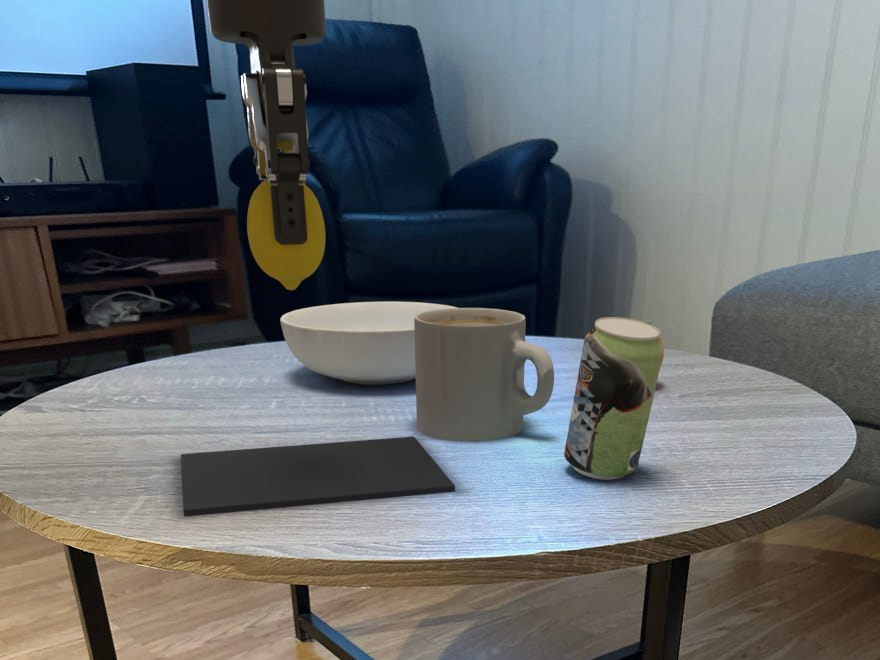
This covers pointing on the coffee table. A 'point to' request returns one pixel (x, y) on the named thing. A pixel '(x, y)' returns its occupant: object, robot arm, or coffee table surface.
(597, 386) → the beverage can
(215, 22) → the robot arm
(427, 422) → the coffee mug
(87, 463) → the coffee table surface
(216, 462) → the mat
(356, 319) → the serving bowl
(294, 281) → the lemon
